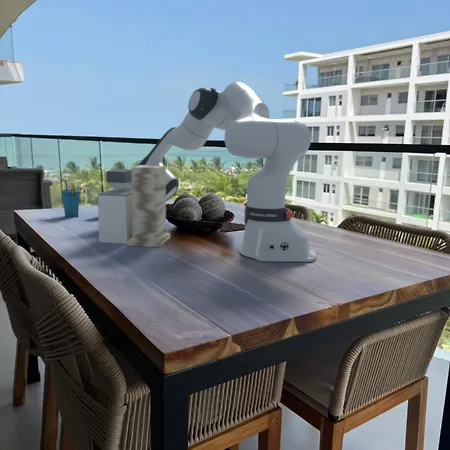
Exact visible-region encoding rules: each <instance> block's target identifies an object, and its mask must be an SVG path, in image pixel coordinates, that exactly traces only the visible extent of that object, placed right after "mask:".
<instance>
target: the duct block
mask: <svg viewBox="0 0 450 450" xmlns="http://www.w3.org/2000/svg"><path fill="white" fill-rule="evenodd" d="M97 197H98V203H97V215H98V216H97V217H98V242H99V243H103V244H104V243H106V244H123V245H125V244H126V245H127V241H128V240H129V239H131V238H132V237H133V229H132V189H115V188H112V189H109V190H104V191H102V192H99V193H97Z"/></svg>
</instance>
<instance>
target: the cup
mask: <svg viewBox="0 0 450 450" xmlns="http://www.w3.org/2000/svg"><path fill="white" fill-rule="evenodd" d="M60 182H64V185H65V189H61V190H60V193H61V195H62V196H61V197H62V201H63V210H64V211H63V212H64V217H65V218H68V217H73V218H78V217H79V211H80V210H79V208H80V207H79V206H80V205H79V204H80V194H81V190H80V189H75V182H72V183H71V187H70V189H69V186H68V181H67V180H66V178H62V179H60Z"/></svg>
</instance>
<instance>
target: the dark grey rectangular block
mask: <svg viewBox="0 0 450 450" xmlns="http://www.w3.org/2000/svg"><path fill="white" fill-rule="evenodd" d="M105 176H106V177H105V178H106V179H105V181H106V183H108V182H111V183H127V182H130V181H132V169H123V168H115V169H109V170H105Z"/></svg>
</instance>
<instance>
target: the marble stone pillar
mask: <svg viewBox="0 0 450 450" xmlns="http://www.w3.org/2000/svg"><path fill="white" fill-rule="evenodd" d="M166 168H167V166H166V165H164V166H152V165H140V166H138V165H136V166H131V170H132V229H133V237H132V238H131V239H129V240H128V241H127V244H126V245H127V246H129V247H130V246H131V247H132V246H133V247H148V248H160V247H161V246H162V245H164V243H166V242H167V241H168V240H169V239H170V238H171V232H167V206H166V205H167V201H166Z"/></svg>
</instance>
